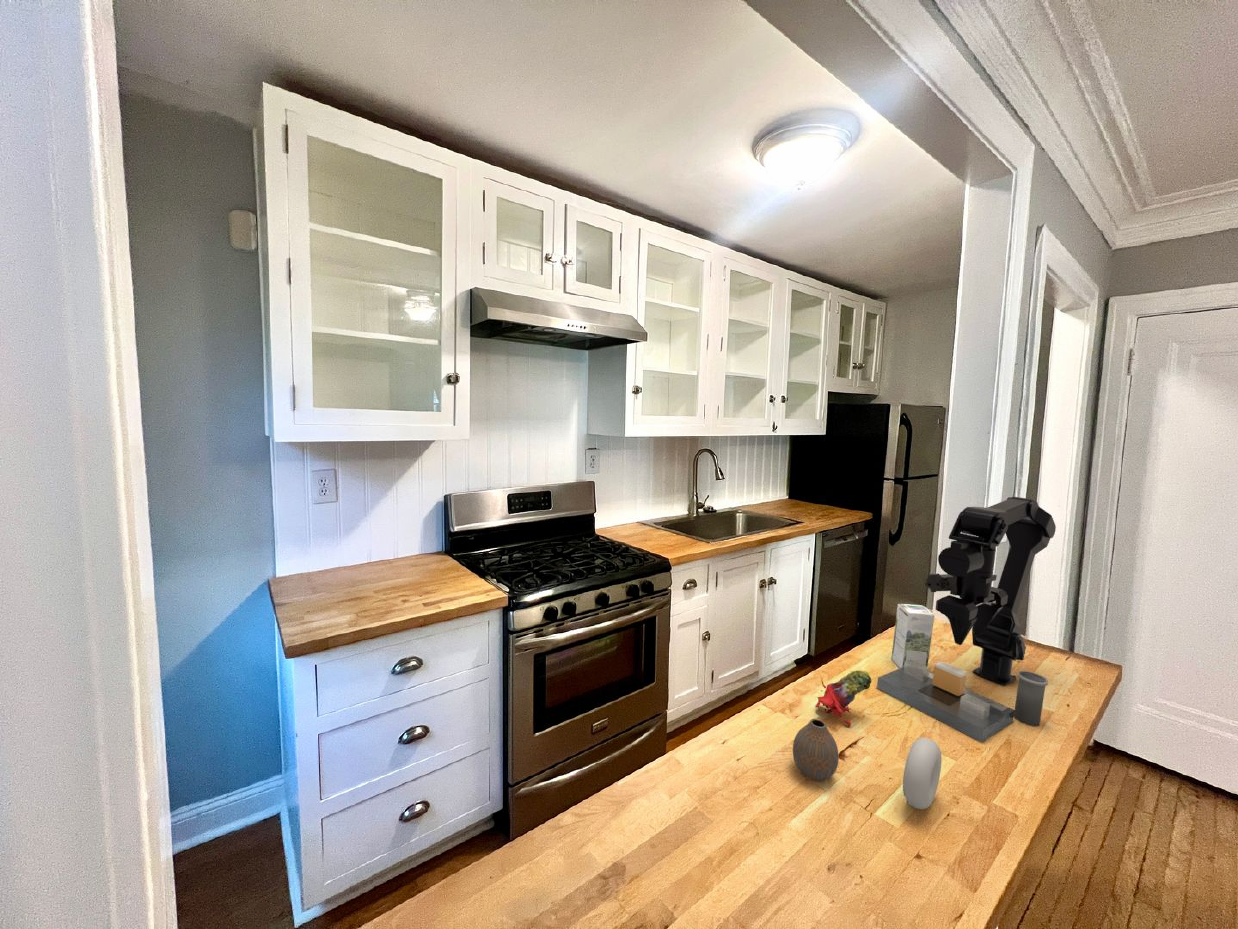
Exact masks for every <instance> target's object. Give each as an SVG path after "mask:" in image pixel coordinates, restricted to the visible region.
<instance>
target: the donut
mask: <svg viewBox="0 0 1238 929" xmlns="http://www.w3.org/2000/svg"><path fill="white" fill-rule="evenodd" d="M906 757H907V758H906V760H905V761H906V762H905V765H904V768H903V769H904V770H903V775H902V791H903V792H902V793H903V796H904V797H905V800H906V801H907V803H908V804H909V805H910V806H911V807H913V808H914V809H917V810H925V809H927V808H929V807H930V806H931V804H932V803H933V801H934V799H935V797H936V794H937V789H938V786H939V783H940V777H941V770H942V761H943V760H942V752H941V748H940V747H939V745H938V743H937V742H936V741H934V740H933V739H931V738H928V737H920V738H917V739H916V740H915V741H914V742H913V743H912V745H911V747H910V749H909V751H908V754H907V756H906Z"/></svg>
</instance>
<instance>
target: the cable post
mask: <svg viewBox="0 0 1238 929" xmlns="http://www.w3.org/2000/svg"><path fill="white" fill-rule="evenodd" d="M1016 675H1017V676H1016V677H1017V678H1018V682H1017V689H1016V690H1017V691H1016V698H1015V704H1014V710H1015V711H1014V718H1015V719H1016V720H1017V721H1018V722H1020V723H1022V724H1025V725H1027V726H1031V727H1039V726H1040V724H1041V717H1042V710H1043V704H1044V698H1045V697H1044V696H1045V690H1046V686H1048V683H1049V680H1048V679H1047V678H1046V677H1045V676H1043V675H1041V674H1038V673H1036V672H1032V671H1027V670H1019V671H1017V674H1016Z"/></svg>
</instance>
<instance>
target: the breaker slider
mask: <svg viewBox="0 0 1238 929" xmlns="http://www.w3.org/2000/svg"><path fill="white" fill-rule="evenodd" d="M933 674H934V675H933V683H932V684H933V685H935V686H937V687H939V688H941V689H944V690H946V691H948V692H950V693H952V694H954V695H957V696H960V695H962V694H964V691H965V688H966V682H967V674H968V672H967V671H966V670H963V669H960V668H959V667H956V666H954V665H952V664H949V663H946V662H944V661H942V660H940V661H938V662H936V663H934V667H933Z"/></svg>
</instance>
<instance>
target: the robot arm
mask: <svg viewBox="0 0 1238 929" xmlns="http://www.w3.org/2000/svg"><path fill="white" fill-rule="evenodd" d="M1056 528H1057V527H1056V522H1055V520H1054V518H1053V516H1052V515H1051V513H1050V512H1048V511H1046V510H1045V509H1043V508H1041V506H1039V503H1038V501H1037V500H1034V499H1033V498H1027V497H1021V496H1020V497H1019V496H1008V497H1007V498H1006V499H1005V500H1003V501H1000V502H998V503H995V504H993V505H990V506H987V507H982V506H966V507H965V508H963V510H962V511H960V512H959V513H958V516H957V517H956V520H955V522H954V525H953V526H952V529H951V531H950V533H949V536H948V539H949V540H951V541H950V546H949V547H946V548H944V549H942V550H941V551H940V553H939V554H938V557H937V560H938V561H937V562H938V565H939V567H940V569H941V570H942V571H943V572H944V574H940V573H930V574H928V575H927V577H926V578H925V583H924V585H925V586H926V587H927V589H929V590H930V593H937V592H949V595H946V596H944V597H943V596H942V597H941V598H938V599H937V600H936V601H935V608H934V609H935V611H936V612H940V614H942V615H944V616H945V617H946V618H947V619H948V621H949V625H950V629H951V631H952V636H953V639H954V643H955V644H956V645H959V646H962V645H963V643H964V642H965V640H967V637H968V635H969V634H970V632H971V635H972V636H971V637H972V645H973V646H975V647H978V648H981V655H980V663H979V666H978V667H977V668H974V669H973V670H972V673H973V674H976V675H978V676H980V677H983V678H986V679H987V680H990V681H992V682H995V683H997V684H999V685H1001V686H1007V685H1009V684H1010V683H1012V682H1014V681H1016V680H1017V678H1018V676H1015V675H1013V674H1012V668H1013V662H1016V661H1024V660H1025V654H1026V649H1027V646H1026V644H1025V642H1024V640H1023V637H1022V635H1021V634H1022V630H1023V628H1022V626H1021V623H1020V620H1019V618H1018V611H1019V608H1020V605H1021V600H1022V597H1023V595H1024V591H1025V588H1026V586H1027V585H1026V584H1027V582H1028V579H1029V575H1030V572H1031V569H1032V565H1033V562H1034V560H1035V556H1036V555H1038V554H1039V553H1040V552H1042V551H1044V549H1046V548H1047V547H1048V545H1049V543H1050V540H1051V539H1053V538H1054V535H1055V534H1056V530H1057V529H1056ZM1005 535H1006V538H1007V541H1008V543H1009V550H1008V554H1007V556H1006V559H1005V562H1004V565H1003V569H1002V572H1001V575H1000V579H999V581H998V584H997V587H994V586H992V585H993V582H994V581H997V577H998V576H997V574H994V569H995V560H996V551H997V547H999V546H1000V544H1001V541H1002V540H1003V538H1004V536H1005ZM945 573H946V574H945ZM957 596H958V597H957Z"/></svg>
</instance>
